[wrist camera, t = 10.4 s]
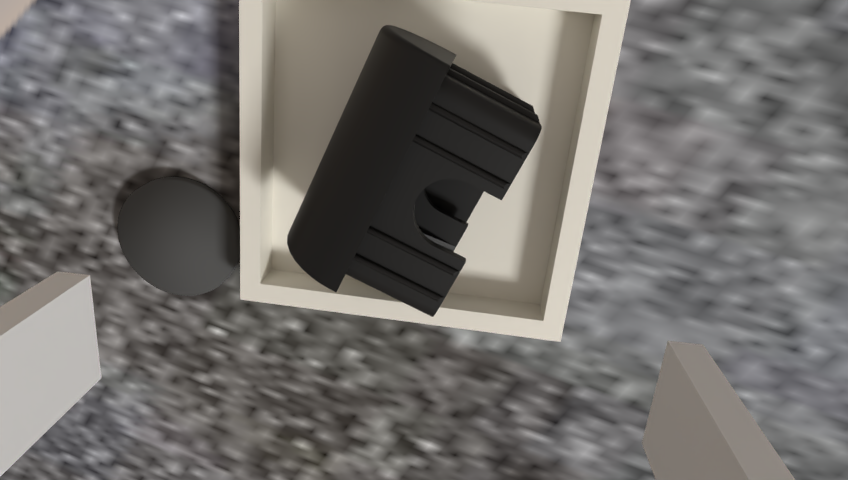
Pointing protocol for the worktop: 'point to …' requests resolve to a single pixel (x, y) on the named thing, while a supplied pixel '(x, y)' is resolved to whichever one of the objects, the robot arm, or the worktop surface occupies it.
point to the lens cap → (179, 235)
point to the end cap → (409, 172)
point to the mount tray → (491, 218)
